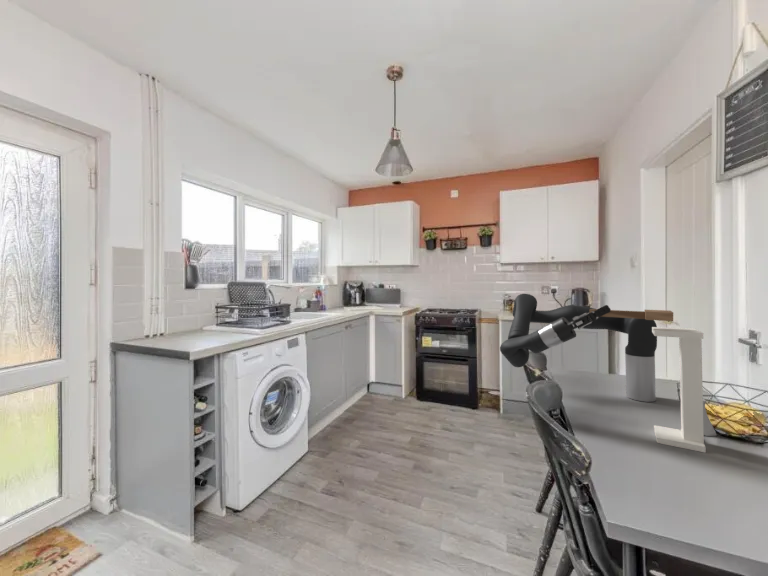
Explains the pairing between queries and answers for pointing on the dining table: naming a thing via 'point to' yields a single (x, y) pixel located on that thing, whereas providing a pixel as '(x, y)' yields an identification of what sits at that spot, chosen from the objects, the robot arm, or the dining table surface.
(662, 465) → the dining table surface
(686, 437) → the white pedestal stand
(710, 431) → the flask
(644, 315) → the tan angular block
